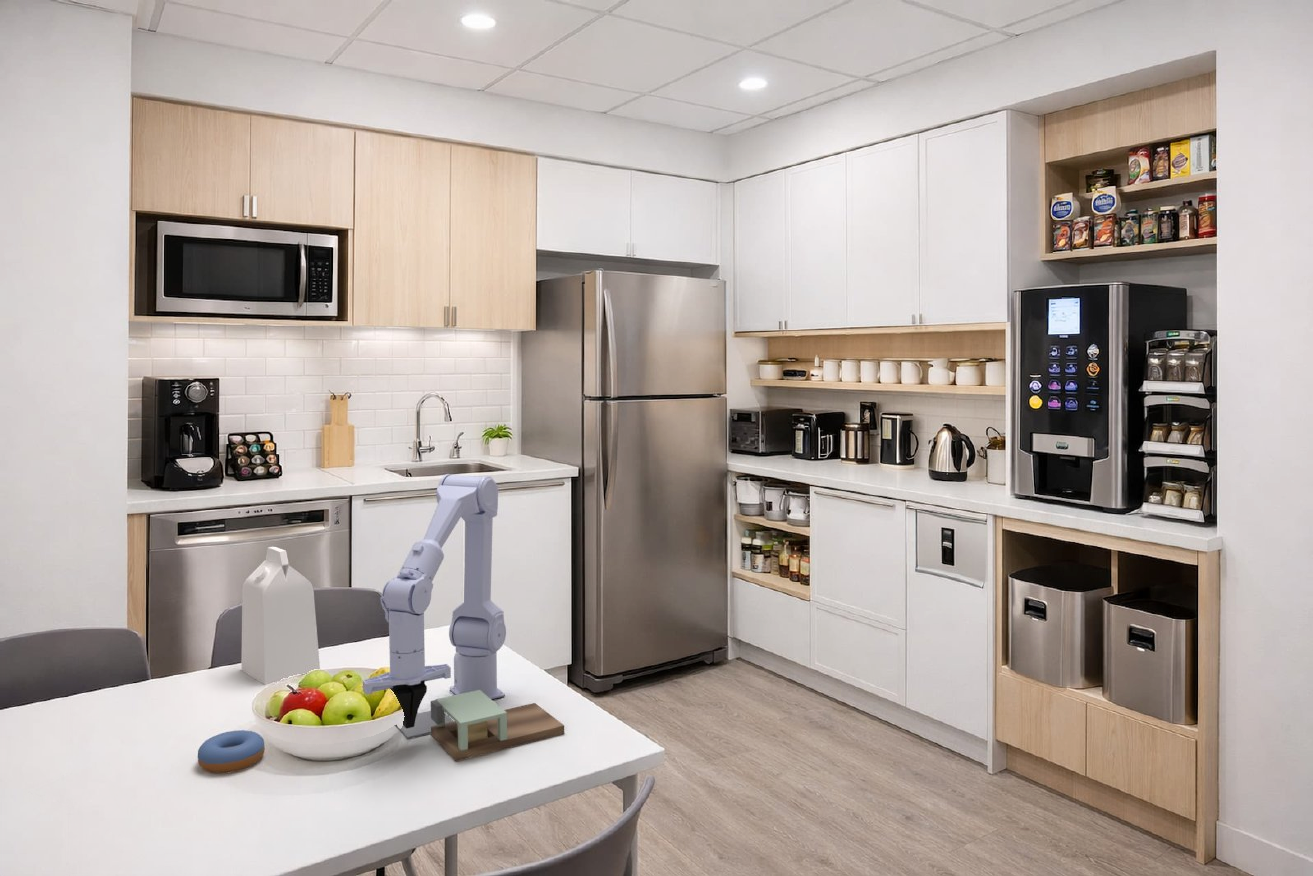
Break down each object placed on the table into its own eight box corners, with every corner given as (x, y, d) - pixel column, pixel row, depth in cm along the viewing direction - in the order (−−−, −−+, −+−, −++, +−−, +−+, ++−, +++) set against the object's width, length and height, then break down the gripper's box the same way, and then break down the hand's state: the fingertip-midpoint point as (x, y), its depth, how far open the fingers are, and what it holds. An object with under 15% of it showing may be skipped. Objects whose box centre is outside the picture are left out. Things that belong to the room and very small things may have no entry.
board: (431, 735, 154) (431, 726, 154) (534, 710, 165) (534, 702, 165) (455, 761, 144) (455, 752, 144) (564, 733, 155) (564, 725, 155)
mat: (392, 721, 160) (392, 719, 160) (440, 710, 165) (440, 708, 165) (407, 739, 152) (407, 737, 152) (457, 727, 157) (457, 725, 157)
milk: (320, 670, 185) (316, 549, 183) (264, 685, 177) (260, 558, 174) (295, 656, 193) (291, 540, 191) (241, 670, 185) (237, 548, 183)
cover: (430, 726, 154) (430, 700, 153) (480, 715, 159) (479, 689, 158) (455, 752, 144) (454, 724, 143) (507, 739, 149) (506, 712, 148)
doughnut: (235, 742, 150) (232, 717, 149) (279, 755, 146) (277, 730, 146) (184, 772, 141) (181, 746, 140) (230, 787, 137) (227, 761, 137)
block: (456, 741, 152) (456, 713, 151) (478, 735, 154) (478, 708, 154) (465, 749, 149) (464, 721, 148) (487, 744, 151) (487, 716, 150)
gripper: (370, 663, 141) (372, 744, 142) (456, 647, 149) (457, 724, 150) (358, 650, 147) (360, 728, 148) (442, 636, 155) (443, 710, 156)
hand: (408, 725), depth 150 cm, fingers closed
